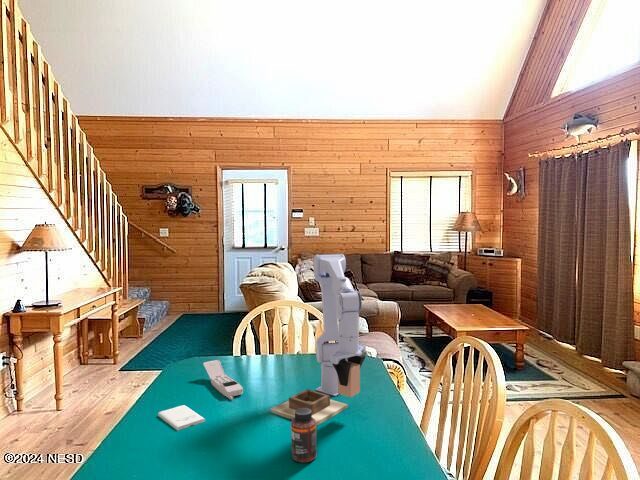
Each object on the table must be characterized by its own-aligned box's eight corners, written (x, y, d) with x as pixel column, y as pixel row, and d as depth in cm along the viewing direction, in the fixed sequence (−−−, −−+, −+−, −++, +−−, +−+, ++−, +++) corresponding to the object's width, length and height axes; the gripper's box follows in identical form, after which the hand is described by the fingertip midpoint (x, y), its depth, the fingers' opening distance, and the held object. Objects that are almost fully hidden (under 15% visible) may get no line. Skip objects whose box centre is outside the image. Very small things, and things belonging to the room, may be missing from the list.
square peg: (346, 388, 140) (346, 361, 139) (360, 392, 137) (359, 364, 136) (337, 393, 136) (337, 365, 136) (350, 397, 133) (350, 368, 133)
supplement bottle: (316, 450, 118) (315, 405, 117) (317, 463, 112) (316, 416, 111) (291, 451, 118) (291, 405, 117) (291, 464, 112) (290, 416, 111)
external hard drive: (185, 409, 144) (205, 423, 135) (158, 417, 138) (177, 432, 129) (184, 404, 144) (205, 417, 134) (158, 412, 138) (177, 426, 129)
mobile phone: (218, 359, 172) (246, 379, 151) (219, 375, 172) (247, 398, 151) (202, 362, 169) (228, 383, 148) (202, 378, 169) (229, 402, 148)
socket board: (306, 395, 153) (306, 382, 152) (347, 407, 143) (347, 394, 143) (270, 412, 140) (270, 398, 140) (313, 427, 130) (313, 412, 130)
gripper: (345, 343, 127) (345, 393, 128) (374, 331, 139) (374, 378, 139) (324, 338, 131) (324, 387, 132) (354, 328, 143) (354, 373, 144)
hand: (348, 382), depth 136 cm, fingers closed on square peg, 4 cm apart
